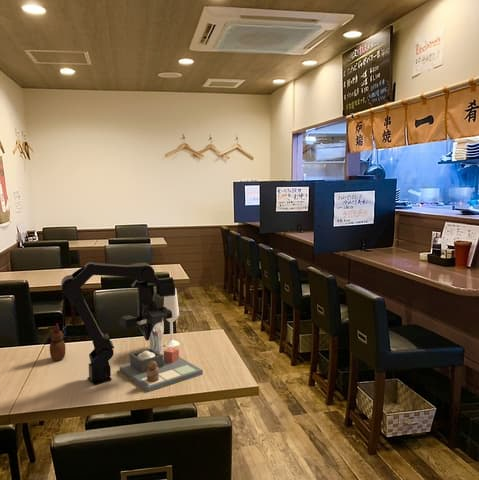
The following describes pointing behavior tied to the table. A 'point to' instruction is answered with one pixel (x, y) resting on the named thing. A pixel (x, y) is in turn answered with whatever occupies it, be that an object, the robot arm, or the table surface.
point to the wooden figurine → (57, 344)
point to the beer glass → (157, 337)
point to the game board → (167, 370)
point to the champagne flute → (172, 305)
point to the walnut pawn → (152, 372)
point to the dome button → (146, 355)
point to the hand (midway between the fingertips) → (147, 340)
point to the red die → (171, 355)
